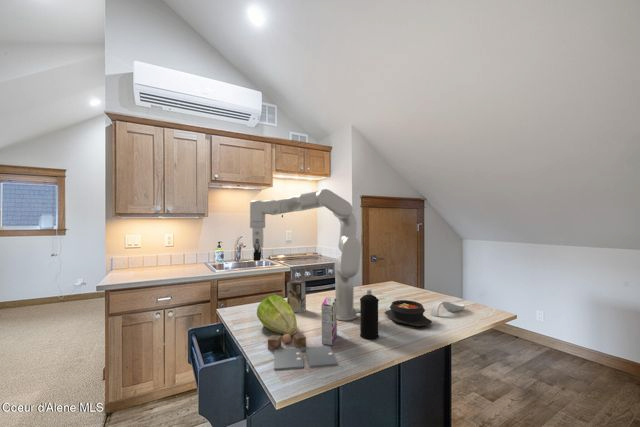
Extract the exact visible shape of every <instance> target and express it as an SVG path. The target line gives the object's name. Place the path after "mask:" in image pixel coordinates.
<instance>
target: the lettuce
mask: <svg viewBox="0 0 640 427" xmlns="http://www.w3.org/2000/svg"><path fill="white" fill-rule="evenodd" d="M256 315H257V316H256V317H257V318H258V320H259V321H260V323H261V324H262V325H263V326H264V327H266V328H267V329H268V330H269V331H271V332H274V333H277V334H280V335H281V334H282V335H285V334H289V335H290V336H293V335H295V333H296V332H297V329H298V324H297V317H296V315H295V312H293V310H292V308H291V306H290V305H289V304H288V303H287V300H285V299H284V297H282V296H281V295H277V294H271V295H268V296H267V297H266V298H265V297H264V299H262V300H261V301H260V303H259V304H258V306H257V308H256Z"/></svg>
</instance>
